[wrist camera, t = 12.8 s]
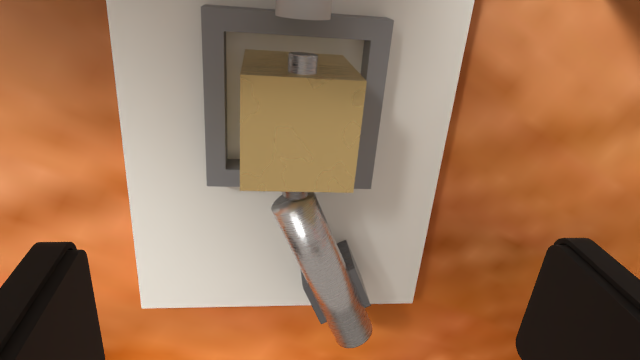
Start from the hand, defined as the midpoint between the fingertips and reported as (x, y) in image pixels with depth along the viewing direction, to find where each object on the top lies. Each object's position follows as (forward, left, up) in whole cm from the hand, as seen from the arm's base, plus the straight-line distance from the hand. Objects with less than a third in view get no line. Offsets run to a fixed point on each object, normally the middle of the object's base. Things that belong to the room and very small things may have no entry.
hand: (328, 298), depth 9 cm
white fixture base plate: (0, 0, -18) cm, 18 cm away
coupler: (0, 0, -16) cm, 16 cm away
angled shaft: (+9, +2, -16) cm, 19 cm away
